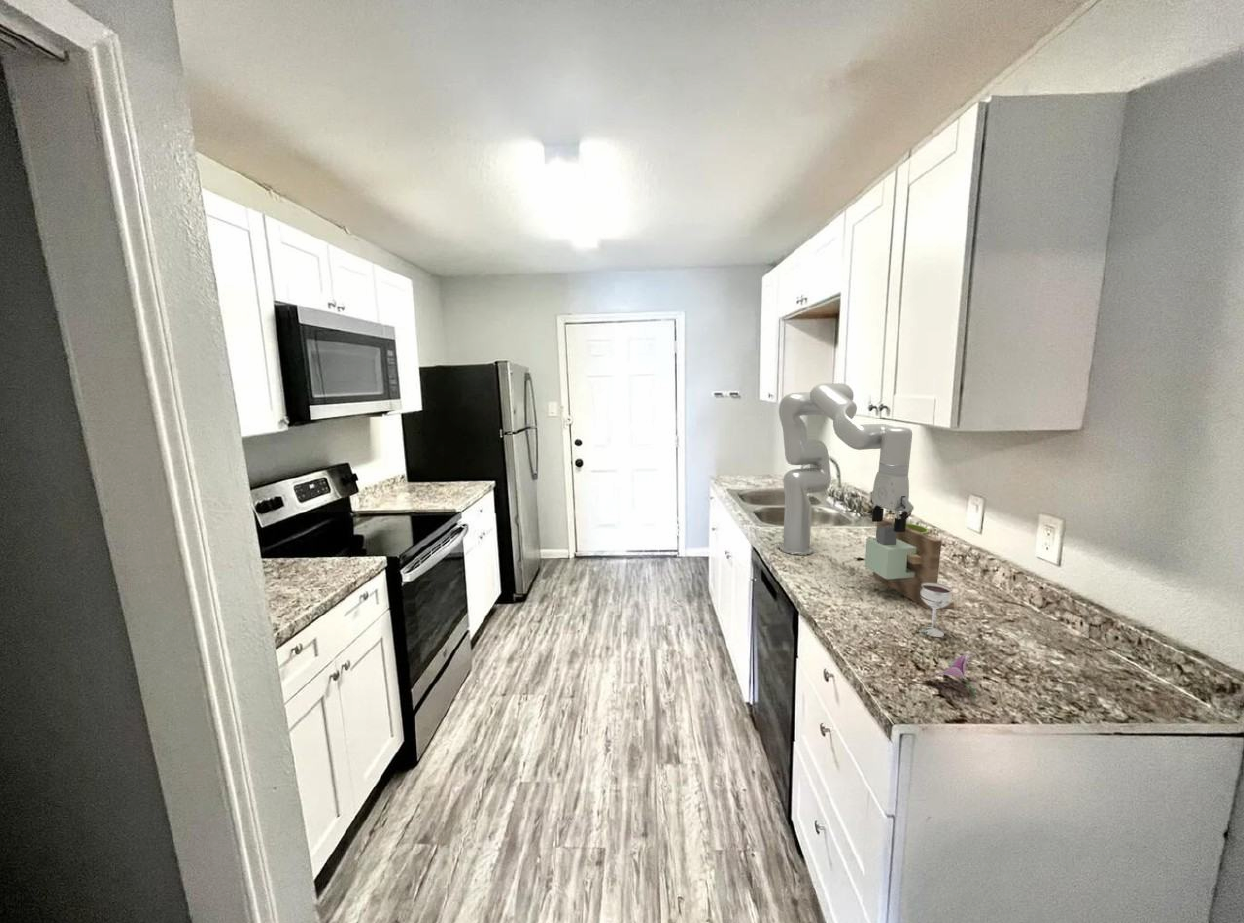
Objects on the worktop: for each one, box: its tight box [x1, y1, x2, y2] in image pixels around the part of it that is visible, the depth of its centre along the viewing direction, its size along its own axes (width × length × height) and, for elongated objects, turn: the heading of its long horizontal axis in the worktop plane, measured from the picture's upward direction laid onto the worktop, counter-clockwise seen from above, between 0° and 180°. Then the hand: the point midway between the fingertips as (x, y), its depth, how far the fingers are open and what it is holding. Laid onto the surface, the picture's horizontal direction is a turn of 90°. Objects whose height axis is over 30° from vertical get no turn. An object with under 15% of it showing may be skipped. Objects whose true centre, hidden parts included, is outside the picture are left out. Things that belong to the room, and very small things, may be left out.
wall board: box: [872, 516, 955, 610], centre depth 142 cm, size 24×10×20 cm, turn 7°
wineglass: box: [920, 582, 953, 638], centre depth 118 cm, size 7×7×12 cm
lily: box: [924, 649, 982, 699], centre depth 96 cm, size 12×12×10 cm
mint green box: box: [864, 525, 917, 579], centre depth 139 cm, size 10×9×14 cm
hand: (887, 526), depth 138 cm, fingers open, 9 cm apart
